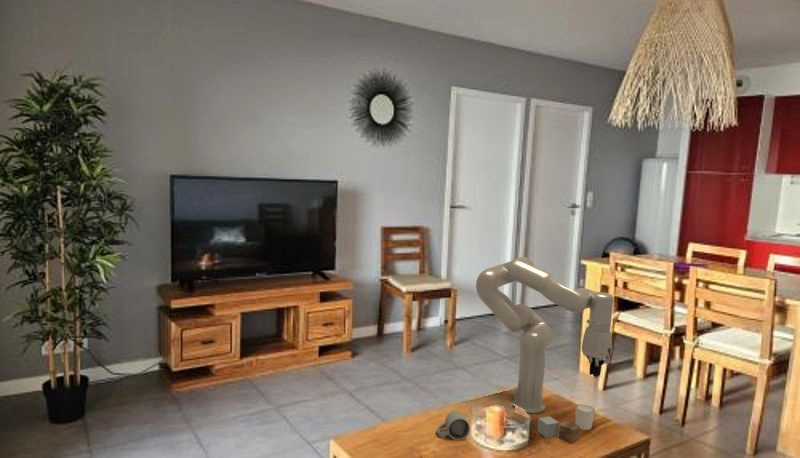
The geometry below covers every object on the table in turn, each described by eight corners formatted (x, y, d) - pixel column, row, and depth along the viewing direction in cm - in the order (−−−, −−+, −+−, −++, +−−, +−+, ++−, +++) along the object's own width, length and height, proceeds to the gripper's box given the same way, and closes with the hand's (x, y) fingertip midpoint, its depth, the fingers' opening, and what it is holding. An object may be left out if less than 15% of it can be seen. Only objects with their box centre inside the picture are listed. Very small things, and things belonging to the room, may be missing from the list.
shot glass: (597, 429, 197) (599, 411, 196) (582, 431, 195) (584, 413, 194) (584, 420, 204) (586, 403, 203) (569, 423, 201) (571, 405, 200)
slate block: (537, 431, 193) (538, 418, 193) (548, 429, 195) (550, 416, 195) (546, 438, 189) (547, 424, 188) (557, 436, 191) (559, 422, 190)
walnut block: (558, 438, 189) (559, 424, 188) (565, 433, 193) (566, 420, 192) (572, 443, 186) (573, 430, 185) (578, 439, 189) (579, 425, 189)
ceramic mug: (464, 428, 192) (465, 408, 191) (469, 440, 184) (470, 418, 183) (434, 429, 191) (435, 408, 190) (438, 441, 183) (439, 419, 182)
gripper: (575, 321, 201) (571, 369, 203) (610, 333, 189) (605, 384, 191) (588, 319, 205) (584, 366, 208) (624, 331, 193) (619, 380, 195)
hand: (594, 374), depth 199 cm, fingers closed
